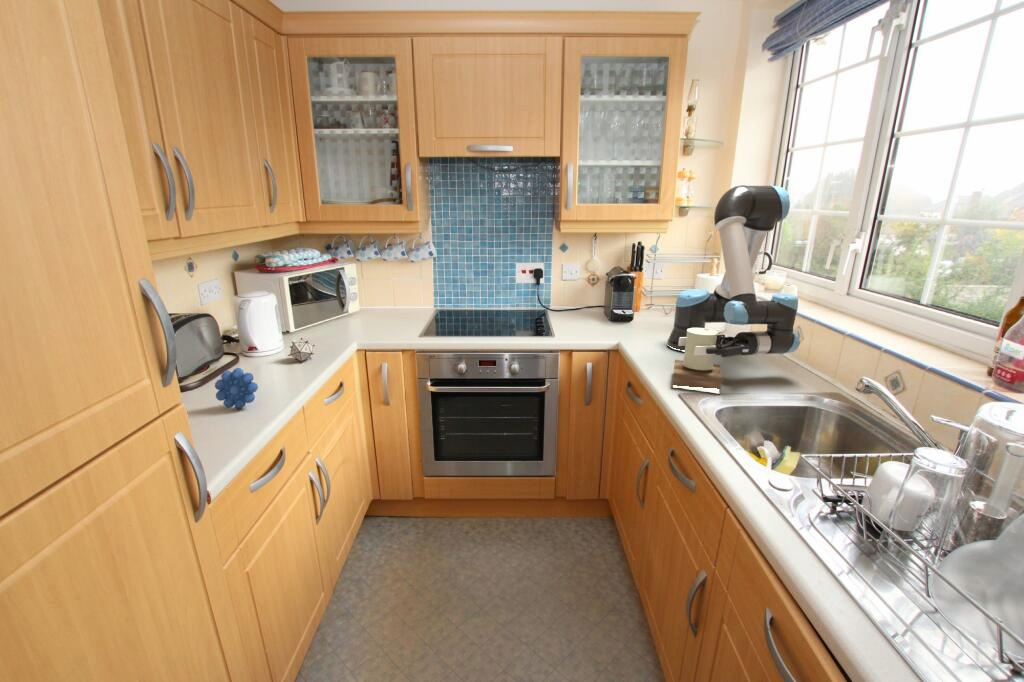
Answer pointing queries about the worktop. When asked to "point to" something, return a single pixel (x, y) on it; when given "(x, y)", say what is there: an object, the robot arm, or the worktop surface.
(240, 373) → the blue knobbed ball
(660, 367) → the worktop surface
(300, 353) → the grey spiked polyhedron
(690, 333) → the can
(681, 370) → the walnut block
